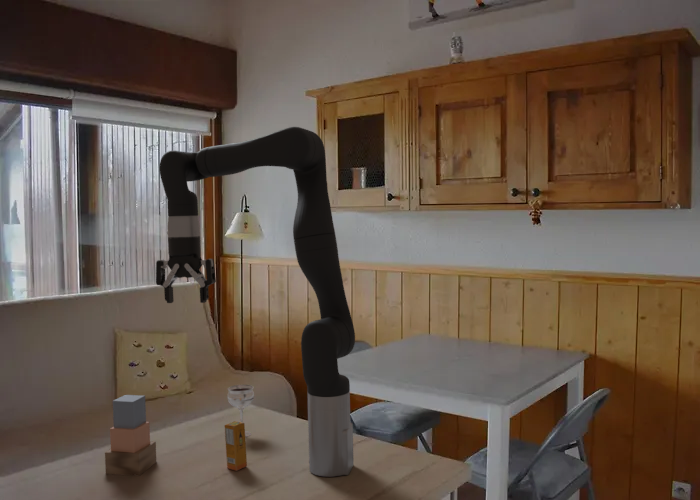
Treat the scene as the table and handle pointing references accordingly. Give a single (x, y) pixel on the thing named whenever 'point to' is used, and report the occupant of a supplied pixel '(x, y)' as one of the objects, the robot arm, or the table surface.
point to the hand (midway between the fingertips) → (186, 302)
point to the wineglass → (241, 399)
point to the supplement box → (235, 445)
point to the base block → (130, 460)
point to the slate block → (129, 411)
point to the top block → (130, 438)
